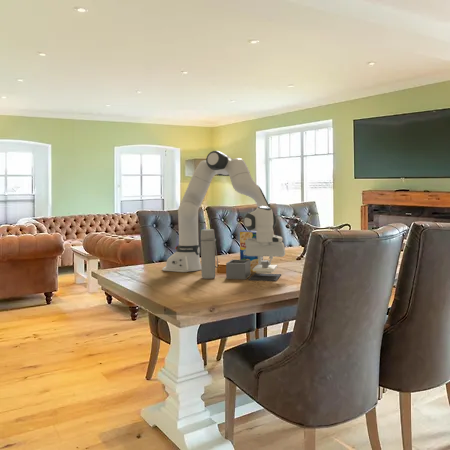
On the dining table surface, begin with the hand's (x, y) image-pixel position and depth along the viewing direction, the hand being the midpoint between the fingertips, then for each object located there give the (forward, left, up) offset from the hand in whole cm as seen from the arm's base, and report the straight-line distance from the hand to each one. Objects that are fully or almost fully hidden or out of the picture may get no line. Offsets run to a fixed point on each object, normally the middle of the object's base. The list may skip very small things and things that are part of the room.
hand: (265, 265), depth 241 cm
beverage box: (-11, +18, -7) cm, 22 cm away
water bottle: (-28, -5, -7) cm, 29 cm away
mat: (0, 0, -7) cm, 7 cm away
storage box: (-14, 0, -7) cm, 16 cm away
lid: (0, 0, -3) cm, 3 cm away
